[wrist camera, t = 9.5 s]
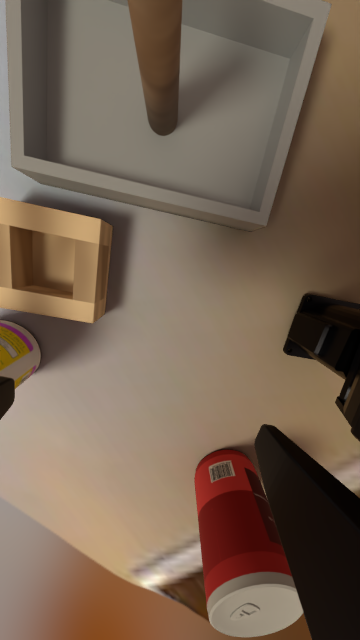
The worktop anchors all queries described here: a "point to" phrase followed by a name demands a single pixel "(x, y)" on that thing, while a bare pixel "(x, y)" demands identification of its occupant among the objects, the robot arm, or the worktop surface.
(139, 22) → the pin
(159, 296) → the worktop surface
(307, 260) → the worktop surface
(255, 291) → the worktop surface
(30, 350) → the supplement bottle
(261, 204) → the tray
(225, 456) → the canned food
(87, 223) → the holder
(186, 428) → the worktop surface
